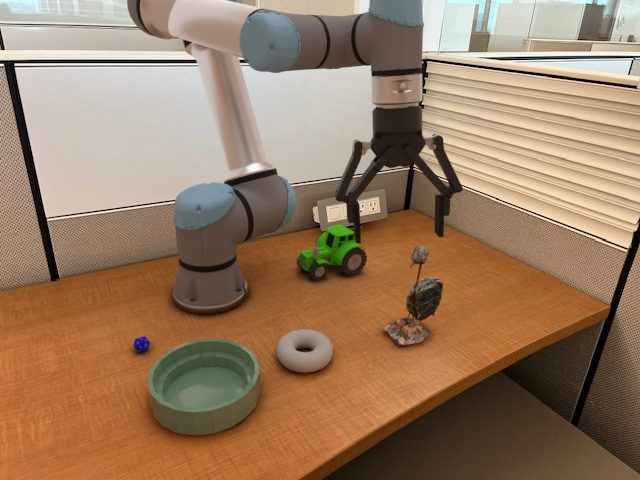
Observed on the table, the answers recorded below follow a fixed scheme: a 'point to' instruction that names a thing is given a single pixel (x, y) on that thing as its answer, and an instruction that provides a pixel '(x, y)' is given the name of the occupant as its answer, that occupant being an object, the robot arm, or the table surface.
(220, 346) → the green ribbed bowl
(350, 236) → the toy tractor
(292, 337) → the donut
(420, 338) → the stacked rock sculpture
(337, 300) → the table surface
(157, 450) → the table surface
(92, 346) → the table surface
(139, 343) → the die
